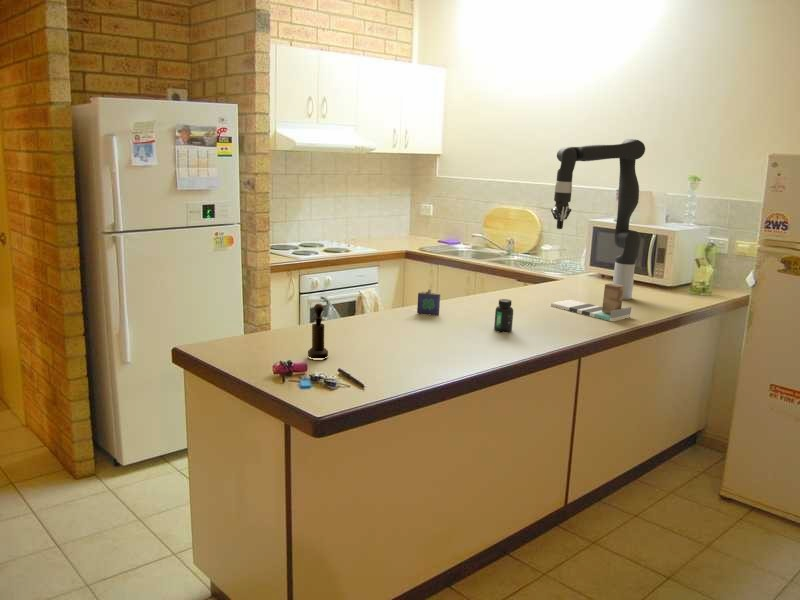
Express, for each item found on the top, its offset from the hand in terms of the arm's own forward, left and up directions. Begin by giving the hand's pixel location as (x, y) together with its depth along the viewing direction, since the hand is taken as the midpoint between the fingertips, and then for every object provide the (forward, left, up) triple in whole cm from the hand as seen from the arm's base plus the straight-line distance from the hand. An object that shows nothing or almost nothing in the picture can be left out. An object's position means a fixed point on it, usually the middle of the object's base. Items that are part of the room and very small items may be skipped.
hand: (559, 228), depth 322 cm
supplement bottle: (+67, +27, -33) cm, 79 cm away
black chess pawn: (+146, +17, -33) cm, 151 cm away
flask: (+75, -7, -33) cm, 82 cm away
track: (+9, +26, -33) cm, 43 cm away
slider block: (+9, +37, -31) cm, 49 cm away
